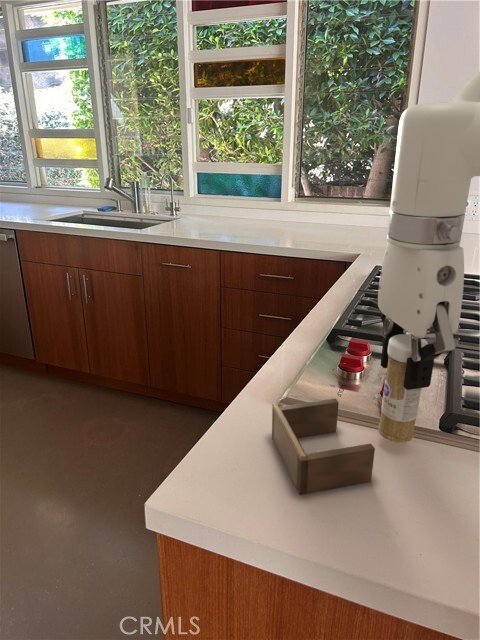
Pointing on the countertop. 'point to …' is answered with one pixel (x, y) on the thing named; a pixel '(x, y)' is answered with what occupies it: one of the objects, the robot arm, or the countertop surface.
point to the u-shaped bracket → (320, 466)
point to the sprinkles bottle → (399, 393)
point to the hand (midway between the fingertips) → (404, 374)
